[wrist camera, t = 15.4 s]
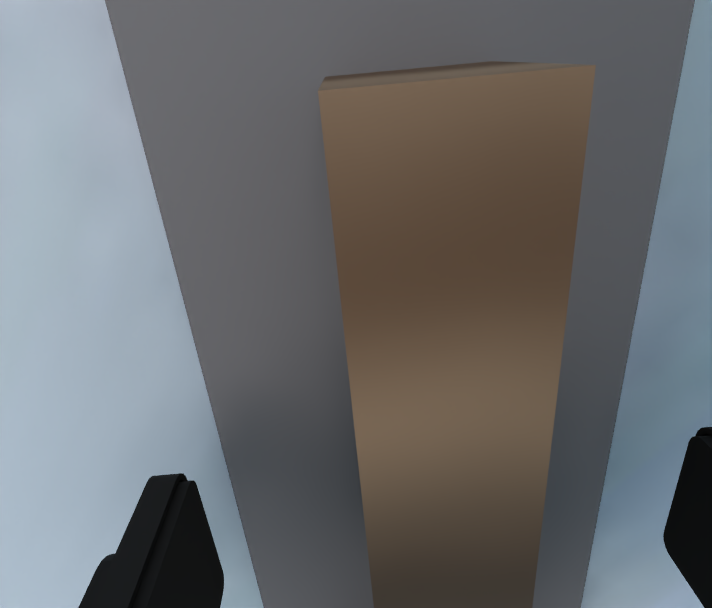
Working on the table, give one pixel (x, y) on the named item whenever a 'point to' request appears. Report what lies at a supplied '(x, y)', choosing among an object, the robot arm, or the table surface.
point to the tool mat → (317, 249)
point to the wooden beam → (455, 312)
